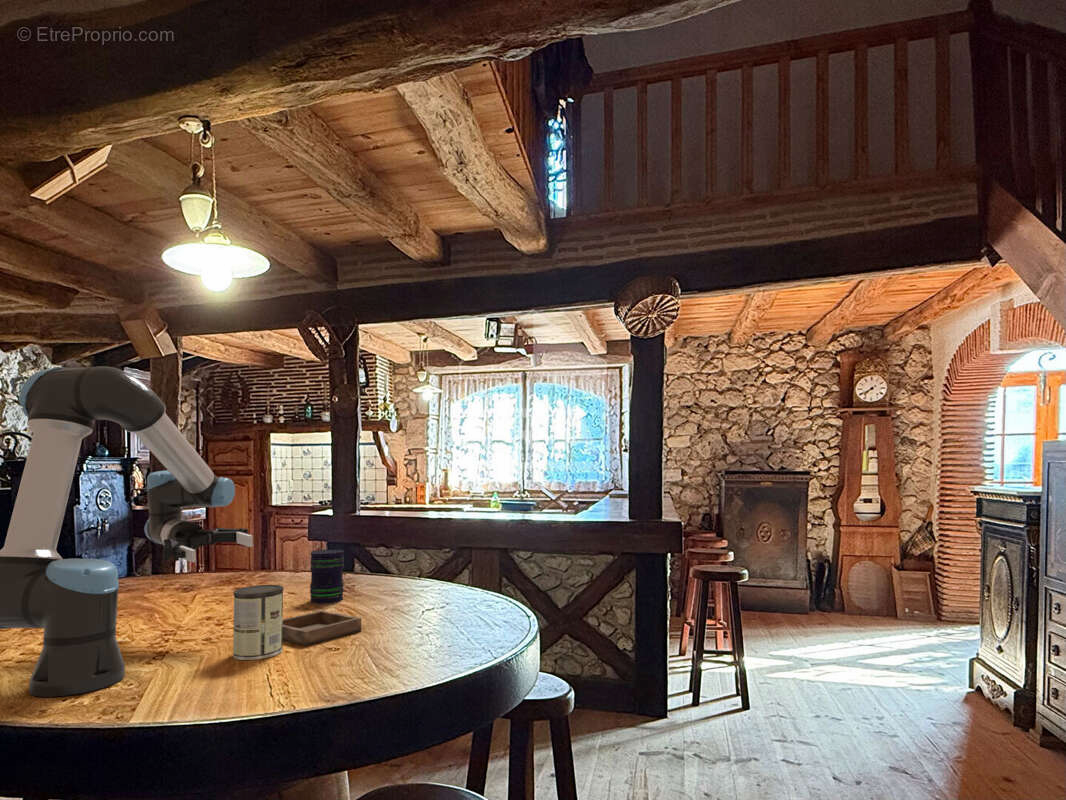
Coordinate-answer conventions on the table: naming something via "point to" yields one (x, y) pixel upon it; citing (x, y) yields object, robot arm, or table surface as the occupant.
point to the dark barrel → (326, 576)
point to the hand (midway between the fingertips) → (223, 548)
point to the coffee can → (257, 622)
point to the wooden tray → (318, 627)
